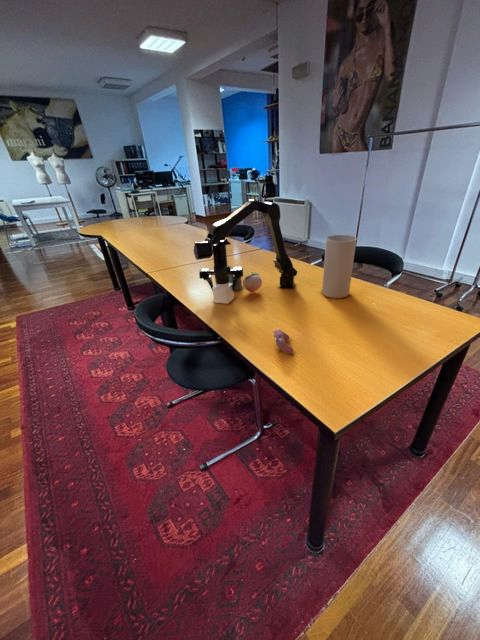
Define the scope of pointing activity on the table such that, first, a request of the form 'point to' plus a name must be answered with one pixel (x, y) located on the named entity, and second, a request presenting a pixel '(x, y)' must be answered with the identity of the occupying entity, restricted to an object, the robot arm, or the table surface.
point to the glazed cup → (238, 283)
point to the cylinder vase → (338, 265)
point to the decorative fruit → (252, 282)
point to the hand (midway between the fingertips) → (223, 291)
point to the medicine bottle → (223, 291)
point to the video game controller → (282, 341)
